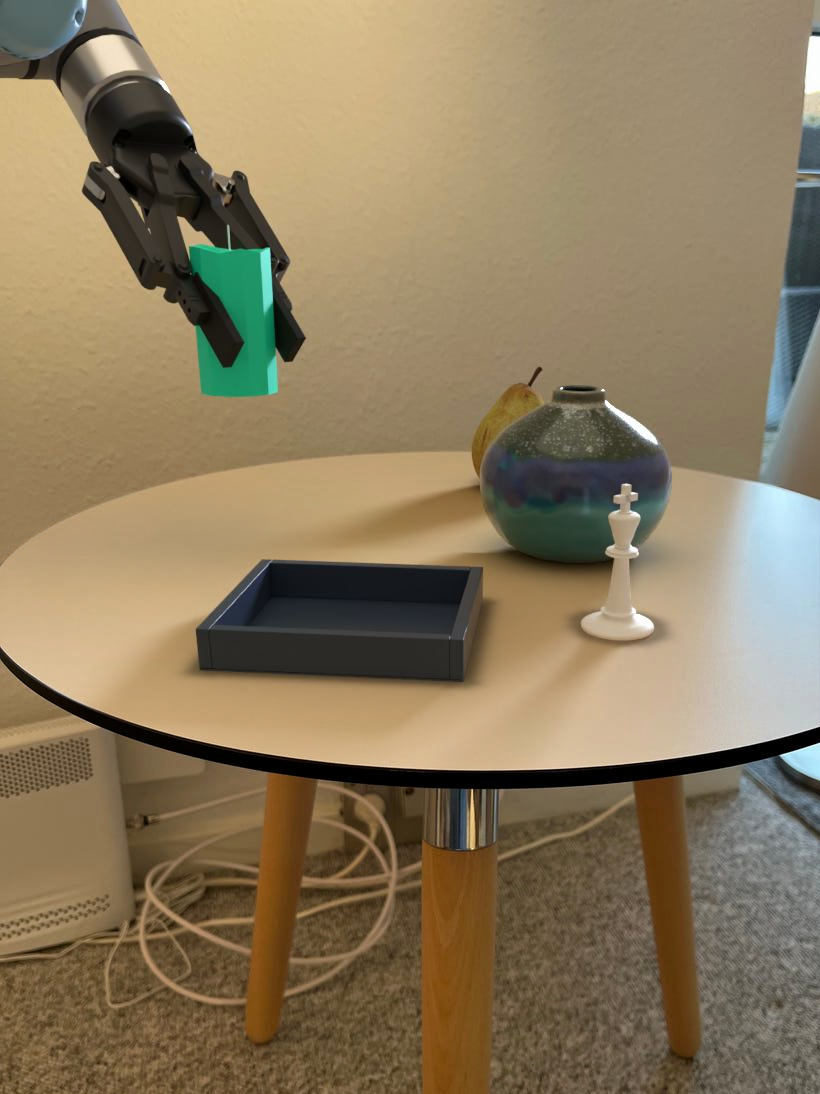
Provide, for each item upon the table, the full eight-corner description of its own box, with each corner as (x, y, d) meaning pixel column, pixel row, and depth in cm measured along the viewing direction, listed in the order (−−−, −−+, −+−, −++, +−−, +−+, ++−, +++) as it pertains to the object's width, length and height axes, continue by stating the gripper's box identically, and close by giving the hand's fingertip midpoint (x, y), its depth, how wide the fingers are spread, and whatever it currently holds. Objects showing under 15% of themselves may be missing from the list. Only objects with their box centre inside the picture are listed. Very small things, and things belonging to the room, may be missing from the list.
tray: (199, 677, 60) (194, 628, 59) (264, 600, 72) (261, 558, 71) (463, 689, 59) (463, 639, 57) (482, 608, 71) (483, 566, 70)
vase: (705, 563, 81) (722, 394, 76) (547, 594, 74) (554, 410, 69) (590, 519, 94) (598, 371, 89) (444, 542, 86) (444, 382, 81)
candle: (183, 392, 78) (167, 223, 74) (238, 383, 83) (226, 225, 78) (241, 399, 75) (228, 224, 71) (294, 390, 80) (286, 226, 76)
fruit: (463, 493, 102) (463, 371, 98) (482, 474, 111) (484, 361, 106) (548, 499, 101) (552, 375, 96) (561, 479, 109) (566, 364, 104)
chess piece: (563, 630, 67) (570, 482, 64) (617, 615, 70) (626, 472, 66) (616, 653, 64) (626, 498, 60) (670, 636, 67) (683, 487, 63)
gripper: (212, 163, 89) (338, 375, 84) (7, 149, 77) (141, 396, 72) (243, 89, 83) (379, 312, 79) (27, 62, 71) (172, 323, 67)
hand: (264, 352), depth 75 cm, fingers closed on candle, 5 cm apart
